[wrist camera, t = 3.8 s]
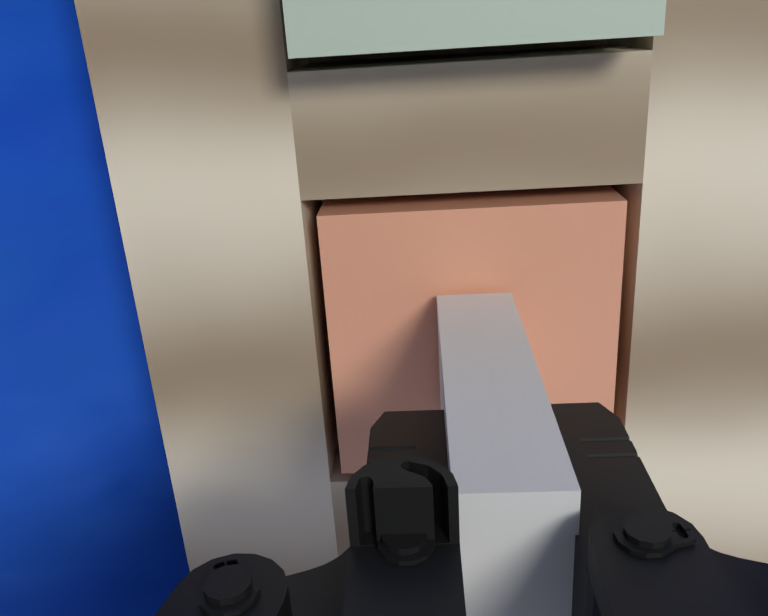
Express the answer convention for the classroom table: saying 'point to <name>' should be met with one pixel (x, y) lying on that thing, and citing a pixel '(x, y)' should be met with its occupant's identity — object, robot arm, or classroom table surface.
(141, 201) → the button panel
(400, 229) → the terracotta button
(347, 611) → the robot arm
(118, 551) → the classroom table surface
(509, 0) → the sage button
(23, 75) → the classroom table surface
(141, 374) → the classroom table surface
